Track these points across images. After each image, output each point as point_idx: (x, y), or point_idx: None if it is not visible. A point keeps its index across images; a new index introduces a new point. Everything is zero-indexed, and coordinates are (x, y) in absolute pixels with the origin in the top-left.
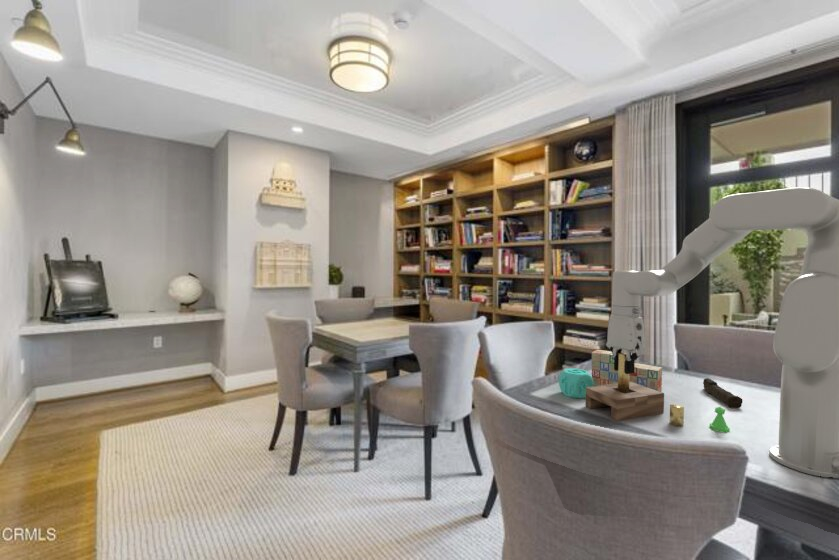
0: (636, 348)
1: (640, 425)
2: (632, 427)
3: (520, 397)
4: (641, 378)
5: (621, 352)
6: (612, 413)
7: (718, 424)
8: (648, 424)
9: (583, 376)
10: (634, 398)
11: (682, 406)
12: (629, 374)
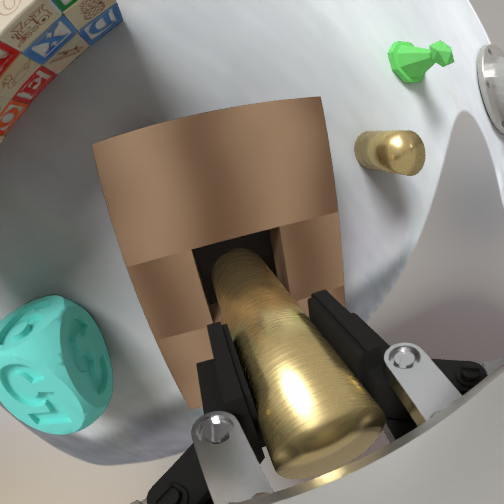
0: (465, 404)
1: (354, 269)
2: (357, 299)
3: (121, 460)
4: (41, 37)
5: (254, 454)
6: None
7: (423, 73)
8: (355, 241)
9: (84, 394)
10: (342, 286)
11: (414, 134)
12: (300, 307)
